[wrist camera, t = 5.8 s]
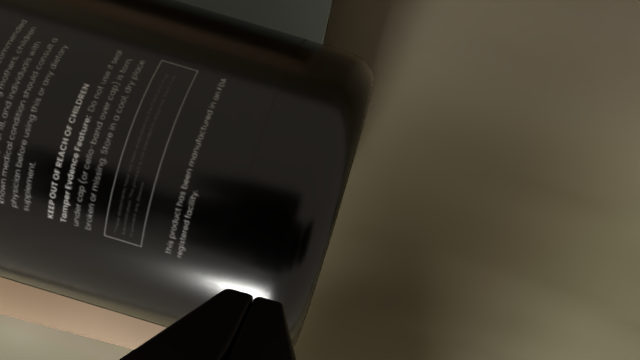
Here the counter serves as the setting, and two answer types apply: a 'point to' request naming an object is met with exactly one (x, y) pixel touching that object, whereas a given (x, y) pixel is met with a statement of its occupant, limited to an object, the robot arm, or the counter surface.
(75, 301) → the cradle rails
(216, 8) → the rubber mat
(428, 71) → the counter surface
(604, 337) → the counter surface
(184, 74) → the supplement bottle
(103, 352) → the counter surface
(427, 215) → the counter surface
